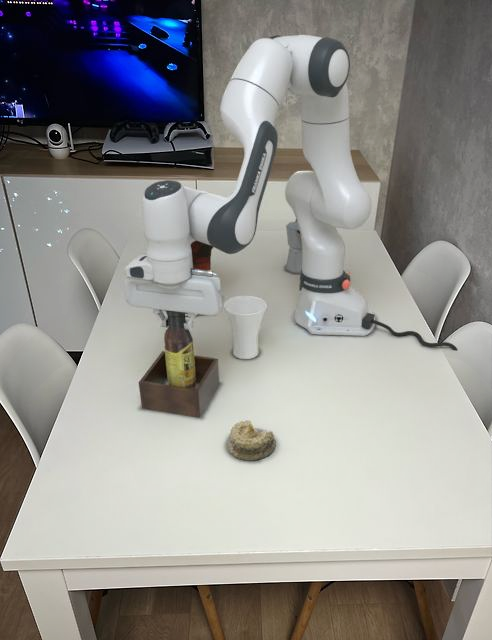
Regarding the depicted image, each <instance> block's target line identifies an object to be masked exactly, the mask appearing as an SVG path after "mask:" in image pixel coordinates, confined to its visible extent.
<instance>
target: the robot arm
mask: <svg viewBox="0 0 492 640" xmlns="http://www.w3.org/2000/svg"><path fill="white" fill-rule="evenodd" d="M350 68H351V60H350V55H349V53H348V51H347V49H346V46H345V45H344V43H343V42H341V41H339V40H338V39H335V38H333V37H329V36H325V37H322V36H315V35H309V34H298V35H272V36H268V37H262V38H259V39H256V40H255V41H254V42H253V43H252V44H251V45H250V46H249V47H248V49H247V51H245V53H244V55H243V56H242V58H241V59H240V61H239V62H238V64H237V66H236V68H235V70H234V72H233V74H232V76H231V77H230V79H229V82H228V83H227V86H226V88H225V90H224V93H223V95H222V98H221V101H220V105H219V115H220V119H221V121H222V124H223V126H224V128H225V129H226V131H227V132H228V133H229V134H230V135H231V137H233V138H234V139H235V140H236V141H237V142H238V143H239V144H241V146H242V147H243V152H244V154H243V155H244V156H243V160H242V163H241V166H240V169H239V170H240V171H239V174H238V177H237V180H236V184H235V186H234V190H233V192H232V194H231V195H229V196H227V197H225V196H221V195H218V194H215V193H212V192H208V191H205V190H202V189H197V188H190V187H188V186H185V185H183V184H182V183H181V182H179V181H177V180H172V179H166V180H159V181H156V182H153V183H152V184H150V185H148V186H147V187H146V188H145V189H144V191H143V195H142V200H141V219H142V229H143V230H142V231H143V234H144V237H145V239H146V246H147V247H146V253H145V254H140V255H138V256H136V257H135V258H133V259H132V260H131V261H130V262H129V263H128V264H127V265H126V266H125V268H124V274H125V276H126V278H125V280H124V297H125V302H126V303H127V304H128V305H129V307H134V308H135V307H136V308H142V309H150V310H152V313H153V314H154V316H155V318H156V319H157V320H158V321H159V327H160V328H166V329H168V327H169V326H168V316H166V315H165V314H164V311H166V310H167V311H176V312H184V313H188V315H187V317H188V318H189V319H186V318H185V319H186V321H185V322H184V330H189V331H193V330H194V320H195V318H196V317H197V316H198V315H202V316H209V317H210V316H211V317H216V316H217V315H218V314H219V313H220V312H221V310H222V308H223V307H224V306H223V305H224V302H223V295H222V279H221V276H220V275H219V274H217V273H215V272H214V271H213V270H211V271H210V270H207V271H205V270H200V269H193V262H192V250H191V243H192V242H194V241H196V240H197V241H199V242H202V243H205V244H208V245H211V246H213V249H217V250H219V251H221V252H222V253H225V254H227V255H234V254H238V253H240V252H241V251H243V250H244V249H246V248H247V247H248V246H249V245H250V244H251V243H252V241H253V239H254V237H255V236H256V231H257V226H258V220H259V219H258V218H259V212H260V208H261V205H262V202H263V197H264V196H265V195H264V194H265V191H266V188H267V185H268V181H269V178H270V175H271V171H272V169H273V164H274V161H275V157H276V153H277V150H278V142H279V138H278V136H279V135H278V132H277V128H276V127H275V122H276V118H277V116H278V113H279V111H280V108H281V106H282V103H283V101H284V99H285V96H286V94H291V95H296V96H297V95H301V102H300V104H301V105H300V115H301V116H300V119H301V143H302V153H303V156H304V158H305V160H306V161H307V162H308V164H309V165H310V167H311V168H312V170H298V171H296V172H294V173H293V174H292V175H291V176H290V177H289V179H287V182H286V185H285V189H284V197H285V200H286V203H287V204H288V206H289V207H290V209H291V210H292V212H293V214H294V217H295V220H296V219H297V223H298V226H299V230H300V234H301V239H302V269H301V271H300V274H299V279H298V280H299V281H298V287H299V298H298V303H297V306H296V310H295V312H294V316H293V320H294V322H295V323H296V324H298V325H299V326H300V327H302V328H304V329H306V330H307V331H308V333H310V334H311V335H320V336H321V335H323V336H326V335H328V336H355V337H356V336H359V337H360V336H362V337H364V336H367V335H369V334H371V333H372V332H373V331H374V328H375V326H376V325H377V326H379V327H382V328H384V329H385V330H387V331H388V332H389V333H390V334H391V335H393V336H395V337H405V336H408V335H410V336H414V337H416V338H417V340H418V341H419V343H420V344H421V345H423V346H425V347H430V348H436V347H437V348H438V347H449V348H451V349H452V350H453V351H456V352H457V351H458V350H459V349H458V348H457V346H455V345H454V344H453V343H451V342H447V341H441V342H440V341H439V342H428V341H425V340H424V338H423V337H422V336H421V334H420V333H419V332H417V331H414V330H406V331H402V332H397V331H395V330H394V329H393V328H392V327H391V326H389V325H388V324H386V323H383V322H382V321H378V320H376V316H375V314H376V313H375V314H374V312H373V311H371V310H370V309H369V306H368V301H367V298H366V297H365V296H364V295H363V294H362V293H360V292H359V291H358V290H357V289H355V288H354V287H353V286H352V285H351V272H350V271H348V273H347V272H346V271H345V270H344V265H345V255H346V244H345V242H344V239H343V237H342V236H341V235H340V233H339V231H338V229H344V230H357V229H359V228H360V227H362V226H364V224H365V223H366V222H367V220H368V219H369V217H370V214H371V211H372V199H371V196H370V194H369V192H368V191H367V190H366V189H365V187H364V186H363V184H362V182H361V180H360V178H359V177H358V174H357V171H356V168H355V165H354V162H353V158H352V153H351V152H352V151H351V143H350V142H351V141H350V140H351V138H350V137H351V136H350V98H349V89H348V84H347V83H348V82H347V80H348V78H349V74H350Z"/></svg>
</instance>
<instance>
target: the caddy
mask: <svg viewBox="0 0 492 640" xmlns="http://www.w3.org/2000/svg"><path fill="white" fill-rule="evenodd" d="M194 360H195V375H196V381H195V384H196V383H198V385H197V386H196V388H195V387H194V388H187V387H180V386H173V385H169V384H166V383H165V382H166V380H168V378H167V368H166V357H165V350H162V351H161V352H160V353H159V355H157V358H156V359H155V360H154V362H152V364H151V366H150V367H149V368H148V369H147V370H146V372H145V373H144V374H143V376H142V377H141V378H140V380H139V381H138V389H139V397H140V403H141V409H142V410H149V411H155V412H161V413H168V414H173V415H180V416H187V417H193V418H202V415H203V414H204V412H205V410H206V408H207V407H208V405H209V403H210V401H211V399H212V398H213V397H214V394H215V392H216V391H217V389H218V387H219V386H220V374H219V373H220V371H219V370H220V369H219V368H220V367H219V358H215V357H208V356H201V355H196V354H194Z"/></svg>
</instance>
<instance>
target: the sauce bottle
mask: <svg viewBox="0 0 492 640" xmlns="http://www.w3.org/2000/svg"><path fill="white" fill-rule="evenodd" d="M165 312H166V315H167V317H168V327H167V328H166V330H165V331H164V337H163V340H164V341H163V343H164V351H165V357H166V368H167V383H168V385H173V386H180V387H187V388H194V389H195V387H196V382H195V381H196V375H195V360H194V355H195V348H194V347H195V346H194V338H193V336H192V334H191V332H190V330H184V322H185V321H186V316H185V313H184V312H176V311H167V310H165Z"/></svg>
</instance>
